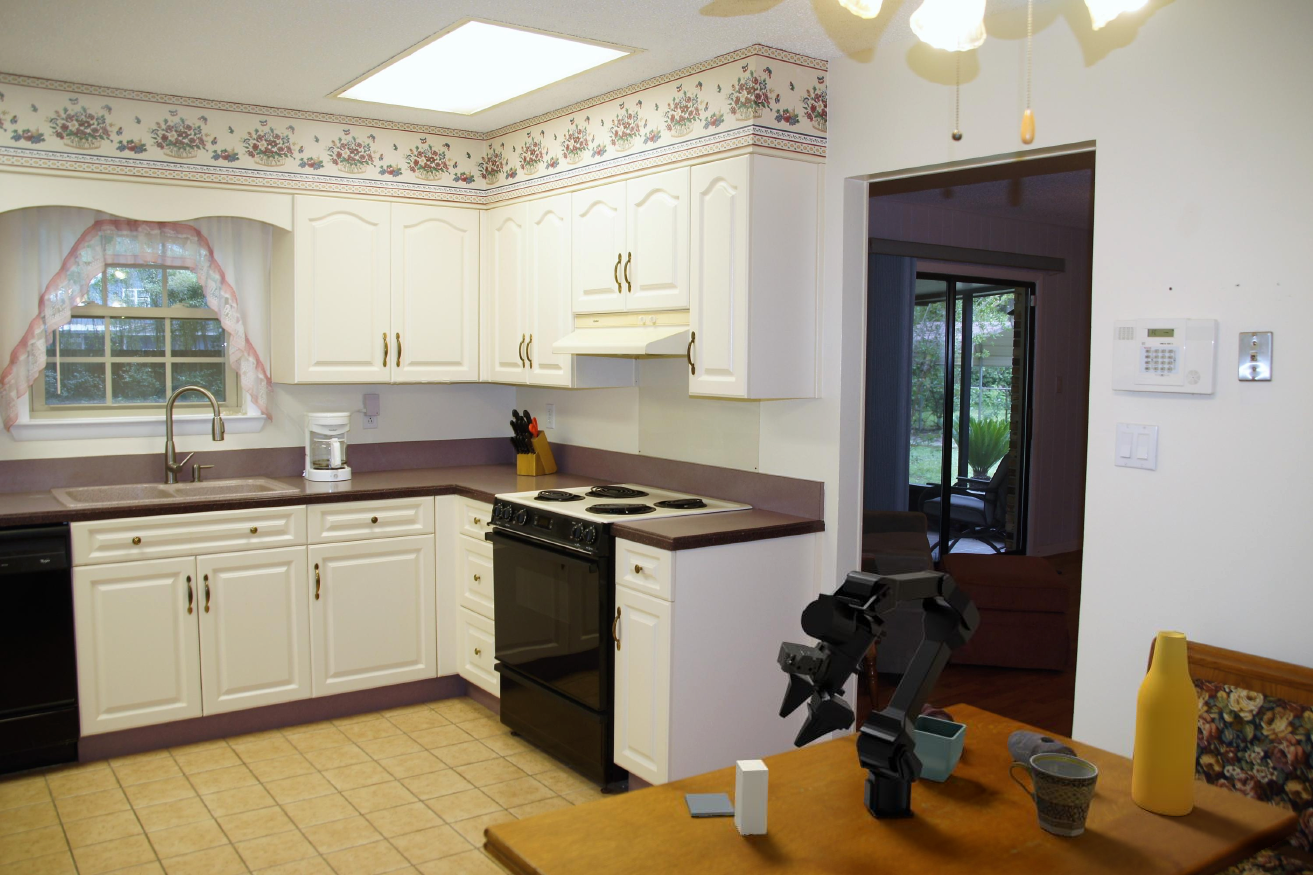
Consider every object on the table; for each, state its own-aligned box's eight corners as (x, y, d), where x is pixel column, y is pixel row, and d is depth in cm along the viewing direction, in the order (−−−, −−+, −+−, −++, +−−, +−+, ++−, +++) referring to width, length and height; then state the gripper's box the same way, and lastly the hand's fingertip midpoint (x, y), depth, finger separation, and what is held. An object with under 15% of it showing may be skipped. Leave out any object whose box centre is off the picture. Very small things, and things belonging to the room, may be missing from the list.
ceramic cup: (1091, 819, 158) (1095, 758, 158) (1098, 846, 149) (1101, 782, 148) (1006, 805, 162) (1009, 746, 162) (1007, 831, 153) (1010, 768, 152)
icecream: (976, 723, 183) (943, 703, 198) (939, 714, 182) (909, 695, 197) (967, 760, 182) (935, 737, 197) (930, 751, 182) (900, 728, 196)
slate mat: (726, 796, 163) (726, 792, 163) (734, 815, 156) (734, 811, 156) (684, 797, 162) (684, 793, 162) (691, 816, 155) (691, 812, 155)
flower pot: (965, 773, 175) (967, 724, 175) (951, 790, 168) (953, 738, 167) (916, 761, 180) (918, 713, 180) (900, 777, 173) (903, 727, 172)
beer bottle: (1206, 813, 161) (1217, 639, 159) (1161, 819, 158) (1172, 643, 157) (1161, 790, 170) (1171, 625, 168) (1118, 796, 167) (1128, 628, 165)
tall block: (759, 821, 154) (761, 759, 153) (766, 833, 150) (768, 769, 149) (734, 823, 153) (736, 760, 153) (740, 834, 149) (742, 770, 149)
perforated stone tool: (997, 757, 184) (999, 721, 183) (1020, 754, 185) (1022, 718, 185) (1055, 789, 169) (1057, 750, 169) (1079, 786, 171) (1081, 747, 171)
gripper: (787, 602, 158) (734, 680, 160) (820, 650, 140) (760, 738, 142) (842, 634, 161) (789, 711, 163) (881, 686, 143) (821, 771, 144)
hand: (788, 730), depth 153 cm, fingers open, 9 cm apart
